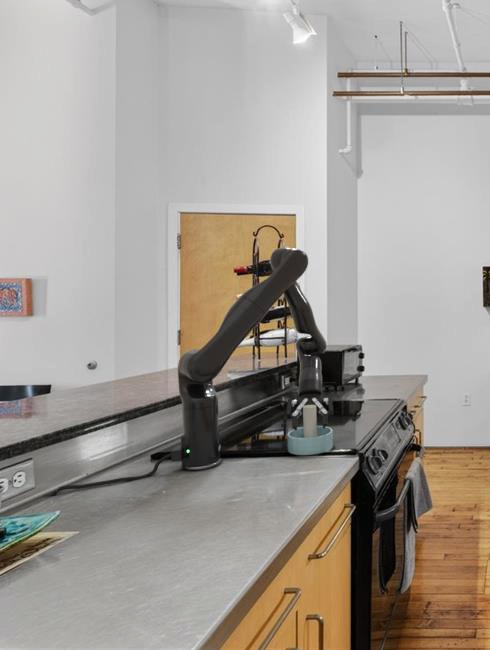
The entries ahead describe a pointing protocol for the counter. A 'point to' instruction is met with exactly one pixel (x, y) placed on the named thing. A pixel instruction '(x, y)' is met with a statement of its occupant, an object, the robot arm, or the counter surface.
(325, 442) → the processor bowl
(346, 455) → the counter surface
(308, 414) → the blade
